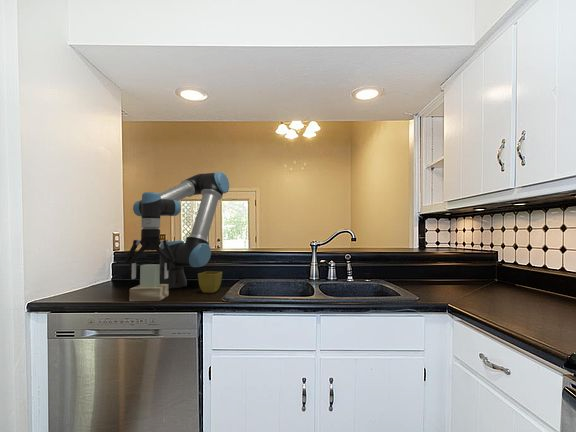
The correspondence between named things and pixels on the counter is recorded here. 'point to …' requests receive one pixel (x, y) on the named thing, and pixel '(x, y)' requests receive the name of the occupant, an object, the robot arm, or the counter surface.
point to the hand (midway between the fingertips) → (150, 278)
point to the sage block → (149, 275)
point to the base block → (149, 293)
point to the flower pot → (209, 281)
